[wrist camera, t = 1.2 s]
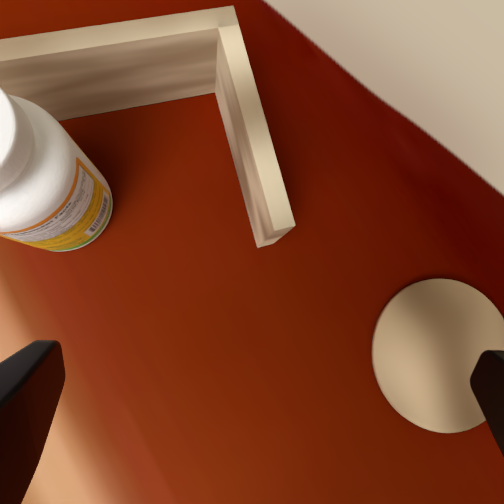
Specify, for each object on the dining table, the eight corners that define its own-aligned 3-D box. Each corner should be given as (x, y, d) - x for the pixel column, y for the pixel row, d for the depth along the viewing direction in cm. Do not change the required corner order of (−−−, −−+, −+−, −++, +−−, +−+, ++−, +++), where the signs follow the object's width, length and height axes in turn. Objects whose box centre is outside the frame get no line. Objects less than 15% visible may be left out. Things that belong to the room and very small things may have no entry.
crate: (273, 243, 22) (295, 225, 17) (-140, 348, 19) (-282, 368, 13) (226, 74, 23) (233, 5, 18) (-174, 144, 20) (-318, 85, 14)
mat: (433, 463, 22) (437, 466, 21) (341, 337, 22) (344, 338, 21) (535, 367, 23) (541, 368, 23) (449, 250, 23) (453, 250, 23)
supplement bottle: (0, 176, 21) (-177, 70, 11) (96, 148, 21) (9, 25, 12) (31, 266, 20) (-126, 237, 11) (127, 233, 21) (63, 178, 11)
